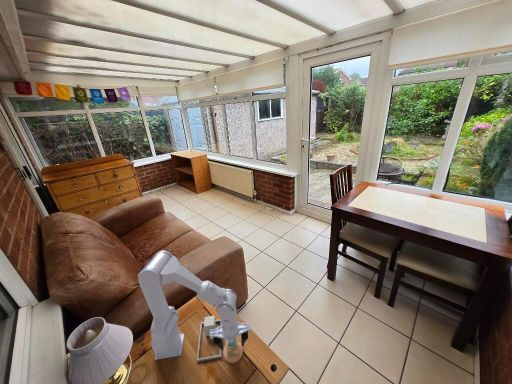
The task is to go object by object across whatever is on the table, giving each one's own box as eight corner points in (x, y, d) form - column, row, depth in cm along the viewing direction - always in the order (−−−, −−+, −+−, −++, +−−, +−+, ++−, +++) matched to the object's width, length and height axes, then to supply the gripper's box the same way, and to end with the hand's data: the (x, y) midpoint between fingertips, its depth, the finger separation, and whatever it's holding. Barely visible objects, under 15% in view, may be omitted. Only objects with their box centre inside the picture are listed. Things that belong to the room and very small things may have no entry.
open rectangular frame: (196, 362, 75) (196, 360, 75) (201, 323, 89) (200, 322, 88) (221, 357, 76) (221, 356, 76) (222, 320, 90) (221, 319, 89)
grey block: (205, 336, 84) (203, 326, 82) (206, 326, 88) (204, 317, 85) (215, 334, 84) (214, 324, 82) (216, 325, 88) (214, 315, 86)
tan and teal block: (227, 357, 76) (226, 347, 73) (227, 345, 79) (226, 335, 77) (238, 355, 76) (237, 345, 74) (238, 344, 80) (236, 334, 77)
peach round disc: (223, 365, 74) (223, 363, 74) (223, 343, 81) (223, 341, 81) (243, 361, 75) (243, 359, 75) (242, 339, 82) (242, 338, 82)
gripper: (207, 336, 67) (212, 361, 72) (251, 329, 68) (252, 353, 74) (208, 316, 73) (213, 340, 78) (248, 310, 75) (250, 333, 80)
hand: (232, 345), depth 77 cm, fingers open, 7 cm apart
